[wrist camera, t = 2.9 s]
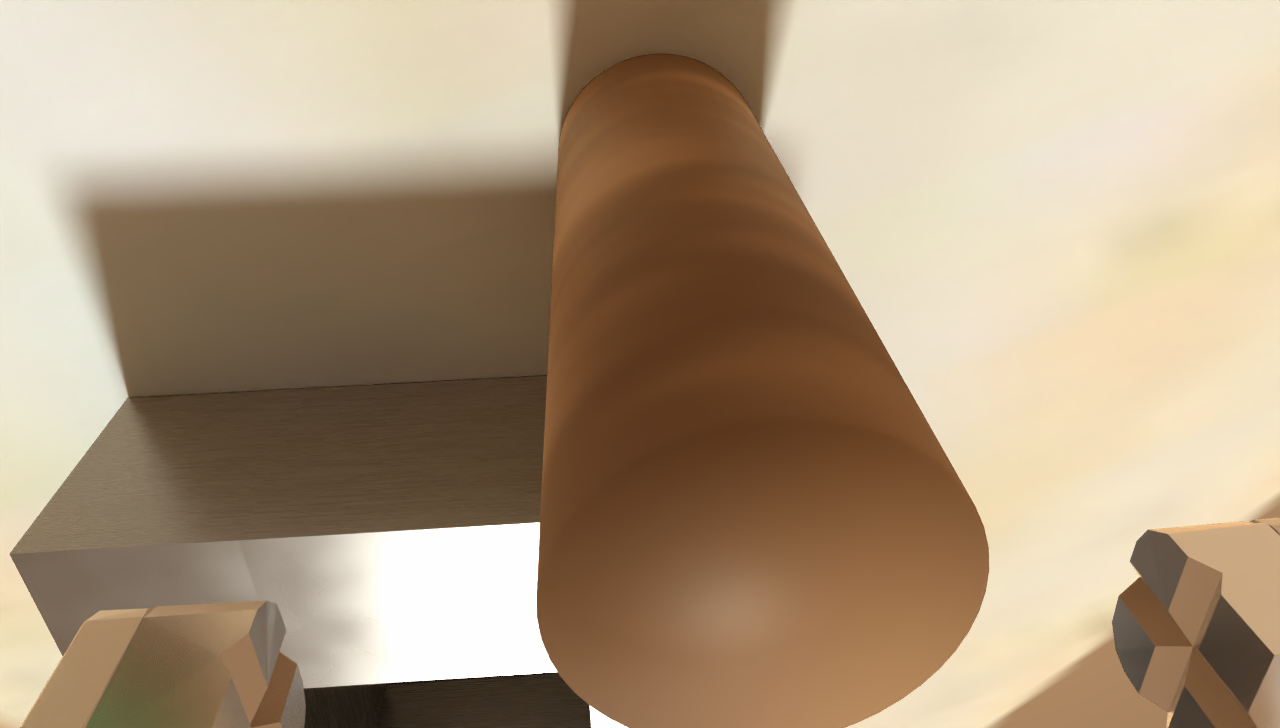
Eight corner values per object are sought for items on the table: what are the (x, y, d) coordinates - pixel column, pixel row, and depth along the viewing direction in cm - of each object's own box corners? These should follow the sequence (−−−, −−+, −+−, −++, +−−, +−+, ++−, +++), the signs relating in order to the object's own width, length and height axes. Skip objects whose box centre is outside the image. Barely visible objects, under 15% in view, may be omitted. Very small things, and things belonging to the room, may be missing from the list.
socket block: (749, 364, 21) (792, 507, 17) (733, 750, 28) (760, 918, 24) (127, 397, 20) (9, 554, 16) (274, 781, 28) (220, 958, 24)
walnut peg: (762, 49, 17) (1030, 405, 7) (754, 244, 19) (951, 734, 9) (550, 58, 17) (513, 433, 7) (565, 253, 19) (554, 761, 9)
